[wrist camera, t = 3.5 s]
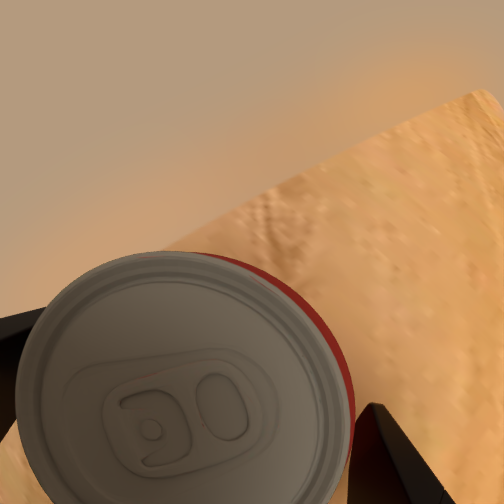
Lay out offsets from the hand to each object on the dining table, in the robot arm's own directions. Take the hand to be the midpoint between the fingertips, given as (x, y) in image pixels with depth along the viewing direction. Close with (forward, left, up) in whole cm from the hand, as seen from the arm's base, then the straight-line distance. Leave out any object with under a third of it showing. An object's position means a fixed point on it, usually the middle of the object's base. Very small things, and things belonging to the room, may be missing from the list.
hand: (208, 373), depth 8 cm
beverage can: (-1, 0, -8) cm, 8 cm away
